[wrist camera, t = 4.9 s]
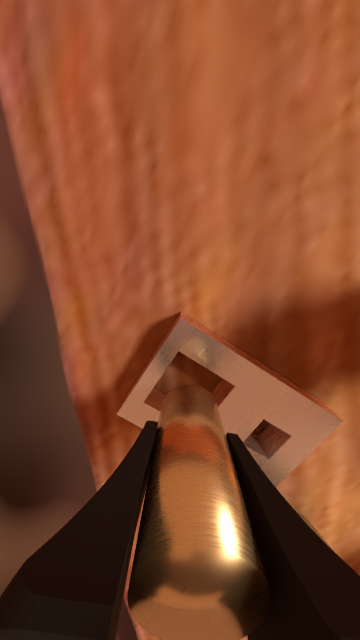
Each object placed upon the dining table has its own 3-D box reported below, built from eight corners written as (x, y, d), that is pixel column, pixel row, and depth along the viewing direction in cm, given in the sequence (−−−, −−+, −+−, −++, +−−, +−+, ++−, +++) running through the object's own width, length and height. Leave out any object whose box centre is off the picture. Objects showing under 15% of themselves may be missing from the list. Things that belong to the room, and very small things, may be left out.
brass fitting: (224, 392, 13) (291, 565, 5) (208, 440, 14) (244, 657, 6) (168, 378, 13) (143, 534, 5) (155, 428, 13) (115, 633, 6)
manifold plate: (321, 401, 18) (343, 420, 15) (256, 469, 20) (266, 496, 17) (181, 311, 16) (180, 317, 14) (125, 396, 18) (116, 414, 16)
